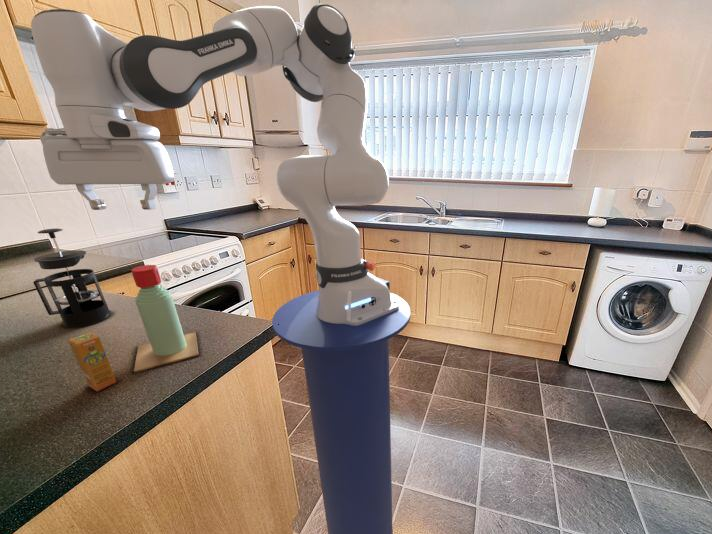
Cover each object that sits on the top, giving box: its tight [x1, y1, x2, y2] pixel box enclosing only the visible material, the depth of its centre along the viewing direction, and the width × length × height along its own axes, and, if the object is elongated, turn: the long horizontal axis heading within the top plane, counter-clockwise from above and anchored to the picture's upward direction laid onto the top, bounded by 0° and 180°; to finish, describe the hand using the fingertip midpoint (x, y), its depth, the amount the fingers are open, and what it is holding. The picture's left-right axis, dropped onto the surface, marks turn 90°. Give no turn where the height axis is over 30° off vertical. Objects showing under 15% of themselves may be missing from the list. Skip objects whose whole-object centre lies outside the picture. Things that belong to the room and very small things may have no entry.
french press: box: [32, 227, 112, 329], centre depth 81 cm, size 12×9×23 cm
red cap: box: [131, 264, 162, 289], centre depth 66 cm, size 4×4×3 cm
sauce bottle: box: [135, 284, 187, 356], centre depth 69 cm, size 6×6×18 cm
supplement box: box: [67, 331, 117, 392], centre depth 60 cm, size 3×3×10 cm
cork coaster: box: [133, 331, 200, 373], centre depth 72 cm, size 11×11×1 cm
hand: (124, 209), depth 64 cm, fingers open, 8 cm apart
